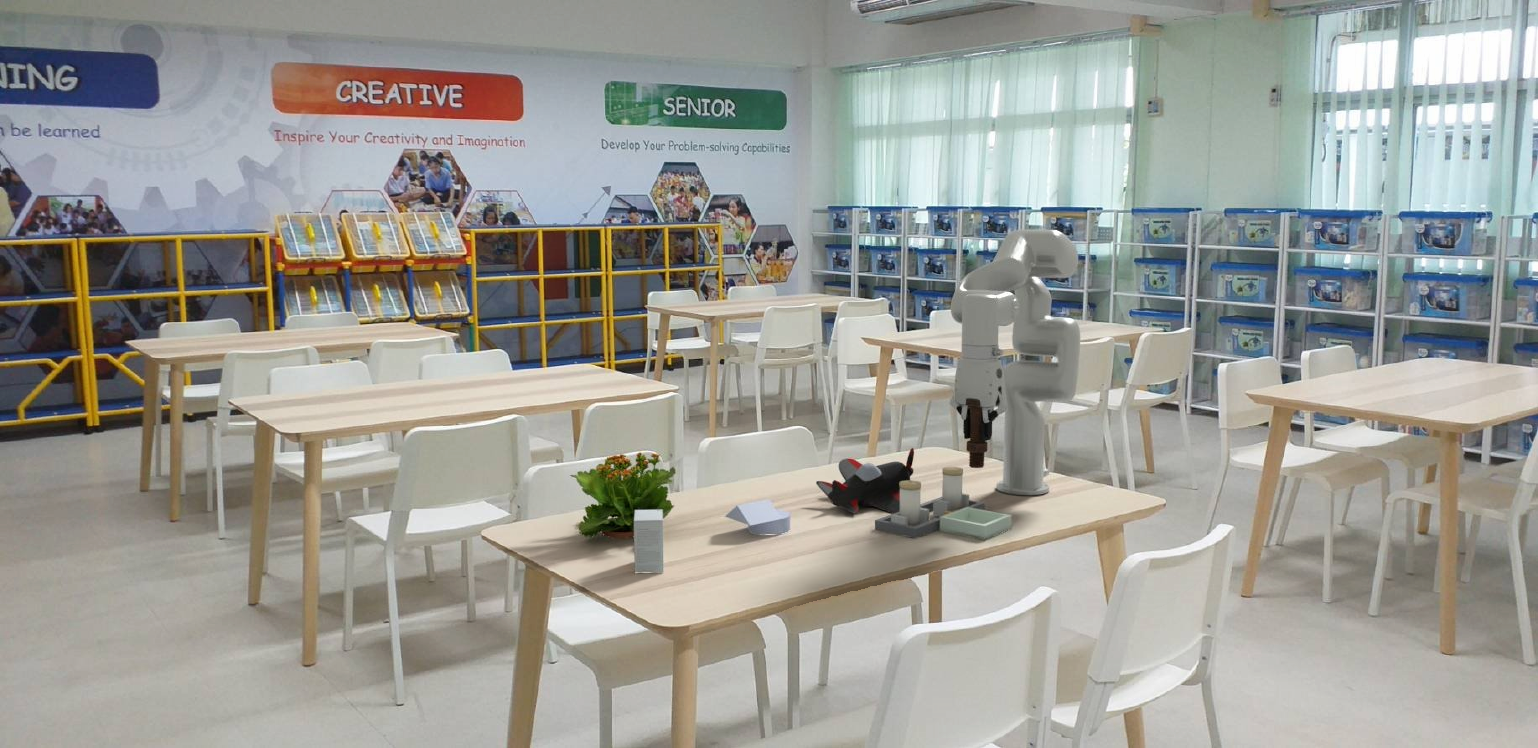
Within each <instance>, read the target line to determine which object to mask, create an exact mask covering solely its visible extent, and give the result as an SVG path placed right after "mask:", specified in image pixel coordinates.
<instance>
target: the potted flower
mask: <svg viewBox="0 0 1538 748" xmlns="http://www.w3.org/2000/svg"><path fill="white" fill-rule="evenodd" d="M626 457H627V455H625V454H622V453H620V455H612V456H609V457H607V456H606V458H605V459H604V463H599V464H597V465H596V467H595V468H590V469H589V472H588V471H587V470H584V471H577V474H570V475H569V476H570V477H572V478H576V482H577V483H578V484H579V486H580V487H582V488H581V490H582V491H583V493H584V494H585V495H587V496H590V497H591V498H593V499H594V500H596V501H597V503H598V505H597V503H596V504H594V503H591V504H590V505H587V506H585V507H584V510H585V513H586V515H582V518H583V520H580V522H579V524H578V531H579V532H578V533H579V534H581V536H584V537H589V538H593V537H594V536H595V537H597V536H598V535H599V533H601V535H603V534H604V535H603V536H605V537H607V536H609V537H608V538H612V537H614V538H615V539H627V538H626V537H629V538H634V537H633V536H634V511H635V510H663V520H664V519H665V518H666V517H667V516H668V515H669V514H670V513H671V511H672V509H673V508H674V507H675V505H674V504H673V503H672V501H671V500H670V499H667V498H668V496H669V495H668V493H669V487H668V486H663V485H667V484H672V483H673V480H672V479H670V478H672V477H673V476H674V475H675V474H677V473H676V468H674V467H675V466H671V467H670V469H668V470H666V469H665V468H664V469H663V468H660V469H659V468H656V465H657V463H658V464H659V463H660V454H657V453H652V454H651V455H650V457H651V458H647V456H646V455H645V454H644V453H642V452H641V451H639V452H638V453H636V458H635V459H634V460H635V465H633V463H632V462H631V460H632V459H629V458H626ZM649 464H652V466H653V468H652V470H650V469H648V468H649V467H650V466H649ZM612 465H613V467H612ZM632 465H633V466H632ZM629 467H630V468H629ZM628 468H629V469H628ZM646 469H647V470H646ZM672 504H673V505H672ZM609 517H610V518H609ZM596 535H597V536H596ZM592 536H593V537H592Z"/></svg>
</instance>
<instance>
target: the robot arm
mask: <svg viewBox="0 0 1538 748" xmlns="http://www.w3.org/2000/svg"><path fill="white" fill-rule="evenodd" d="M1078 265H1079V253H1078V250H1077V247H1076V245H1075V243H1073V241H1071V240H1070V238H1069V237H1068V236H1067V235H1066V234H1064V232H1061V231H1059V230H1055V229H1016V230H1012V231H1011V232H1009V233H1008V234H1007V235H1006V236H1005V237H1004V239H1003V241H1002V243H1001V244H1000V246H999V248H998V251H997V252H996V254H995V256H994V258H993V260H992V261H990V262H989V263H987V264H985V265H982V266H980V267H978V268H976V269H974V270H973V271H971V272H969V273H967V274H966V275H965V276H963V278H962V279H961V280H960V281H959V284H958V285H957V287H956V288H955V291H954V292H953V293H954V294H953V296H952V297H951V298H952V299H951V303H950V314H951V317H952V319H953V320H954V321H955V322H956V323H958V324H961V349H960V351H961V354H960V355H961V356H960V358H958V360H957V366H956V371H955V376H954V389H953V396H952V398H951V399H950V401H949V405H950V406H951V407H952V408H953V409H955V410H956V412H957V413H959V415H960V418H961V420H963V429H962V430H963V438H964V439H965V440H970V431H971V430H970V428H971V427H970V425H971V424H970V420H971V419H970V417H971V416H970V406H967V405H966V399H967V398H971V399H978V400H980V404H981V408H982V411H983V422H982V423H981V436H980V440H981V441H986V442H987V441H990V440H991V437H992V436H993V422H994V421H995V420H996V419H997V418H998V417H999V416H1000V415H1002V414H1004V428H1003V430H1004V432H1003V438H1004V439H1003V464H1002V465H1003V469H1002V473H1003V474H1002V480H1000V481H998V482H997V483H996V484H995V485H996V486H995V487H996V489H997V490H998V491H999V492H1002V493H1005V494H1008V495H1018V496H1039V495H1043V494H1047V493H1048V492H1049V491H1050V485H1049V484H1048V483H1045V482H1044V477H1045V478H1046V477H1047V476H1049V475H1050V471H1049V469H1048V468H1046V467H1045V468H1044V463H1045V462H1044V460H1045V458H1044V457H1045V456H1044V455H1045V430H1046V429H1045V428H1046V421H1045V420H1046V419H1045V417H1044V413H1043V411H1042V410H1041V408H1040V407H1039V406H1038V404H1037V403H1036V402H1042V403H1045V402H1046V403H1058V404H1064V403H1069V402H1071V401H1072V400H1074V397H1075V395H1076V392H1077V385H1078V377H1079V376H1078V375H1079V374H1078V373H1079V361H1080V351H1081V331H1080V326H1079V324H1078V322H1077V321H1076V320H1075V319H1073V318H1070V317H1063V316H1062V317H1061V316H1058V317H1057V316H1052V315H1051V311H1052V300H1053V299H1052V294H1051V293H1050V291H1049V289H1048V287H1047V285H1046V284H1045V283H1044V282H1043V281H1042V279H1040V278H1047V279H1048V278H1050V279H1052V278H1053V279H1067V278H1070V277H1072V276H1073V275H1074V274H1075V273H1076V271H1077V269H1078ZM1013 291H1014V293H1012V292H1013ZM1009 325H1012V326H1013V327H1012V334H1011V335H1012V336H1011V337H1012V339H1011V341H1012V347H1013V350H1014V351H1015V352H1016V353H1018V354H1020V355H1024V356H1036V357H1052V358H1056V359H1057V362H1053V361H1041V360H1040V361H1039V360H1026V359H1024V360H1022V359H1020V360H1014V361H1011V362H1009V363H1007V364H1006V365H1005V366H1004V367H1003V363H1002V360H1001V359H999V356H1000V357H1001V356H1003V354H1004V350H1003V349H1000V348H999V347H1000V346H999V327H1006V326H1009ZM995 407H997V408H996V409H995Z"/></svg>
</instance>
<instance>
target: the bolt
mask: <svg viewBox="0 0 1538 748" xmlns="http://www.w3.org/2000/svg"><path fill="white" fill-rule="evenodd" d="M966 405H967V406H970V416H971V417H970V419H971V420H970V424H971V425H970V427H971V428H970V430H971V431H970V438H969V440H966V452H969V455H968V457H969V459H968V461H969V463H968V466H969V467H970V468H971V469H982V468H984V466H985V453H987V452H988V446H989V445H988V442H989V441H988V442H987V441H981V440H980V436H981V423H982V422H983V411H982V408H981V404H980V400H978V399H971V398H967V399H966Z"/></svg>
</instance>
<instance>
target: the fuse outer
mask: <svg viewBox="0 0 1538 748" xmlns="http://www.w3.org/2000/svg"><path fill="white" fill-rule="evenodd" d="M899 488H900V511H899V516H904V517H907V526H912V527H914V526H917V525H920V504H921V490H922V483H921V481H918V480H911V479H910V480H906V481H901V482H899Z"/></svg>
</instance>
